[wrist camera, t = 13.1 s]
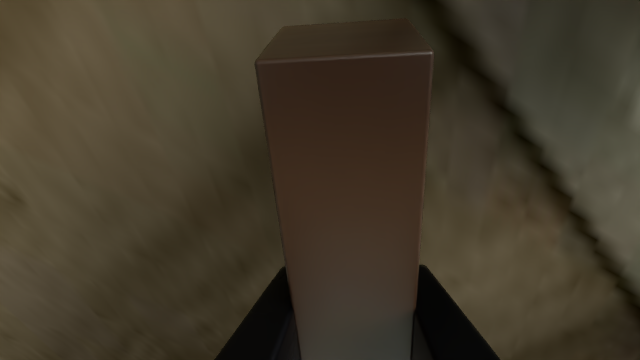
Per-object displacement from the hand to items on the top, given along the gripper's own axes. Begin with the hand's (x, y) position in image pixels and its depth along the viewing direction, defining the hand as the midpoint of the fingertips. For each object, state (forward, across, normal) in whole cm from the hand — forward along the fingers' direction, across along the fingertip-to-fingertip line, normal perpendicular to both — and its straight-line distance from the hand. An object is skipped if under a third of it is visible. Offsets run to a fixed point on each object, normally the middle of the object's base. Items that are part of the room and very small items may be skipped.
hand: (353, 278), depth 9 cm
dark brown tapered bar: (+1, 0, +3) cm, 3 cm away
